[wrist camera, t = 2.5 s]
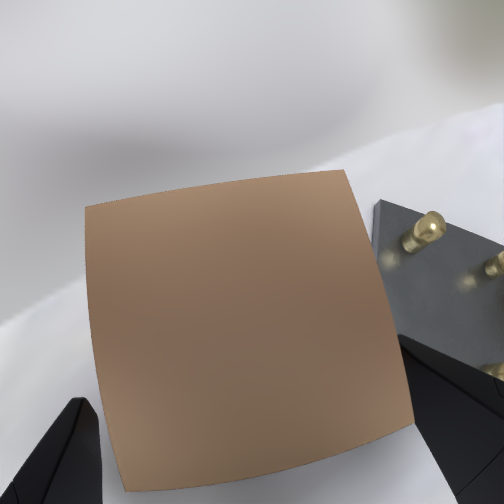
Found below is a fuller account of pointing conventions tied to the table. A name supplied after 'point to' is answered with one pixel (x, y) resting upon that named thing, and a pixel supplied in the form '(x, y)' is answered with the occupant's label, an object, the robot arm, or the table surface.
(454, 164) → the table surface
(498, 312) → the standoff plate
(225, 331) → the walnut block
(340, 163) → the table surface
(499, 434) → the robot arm
